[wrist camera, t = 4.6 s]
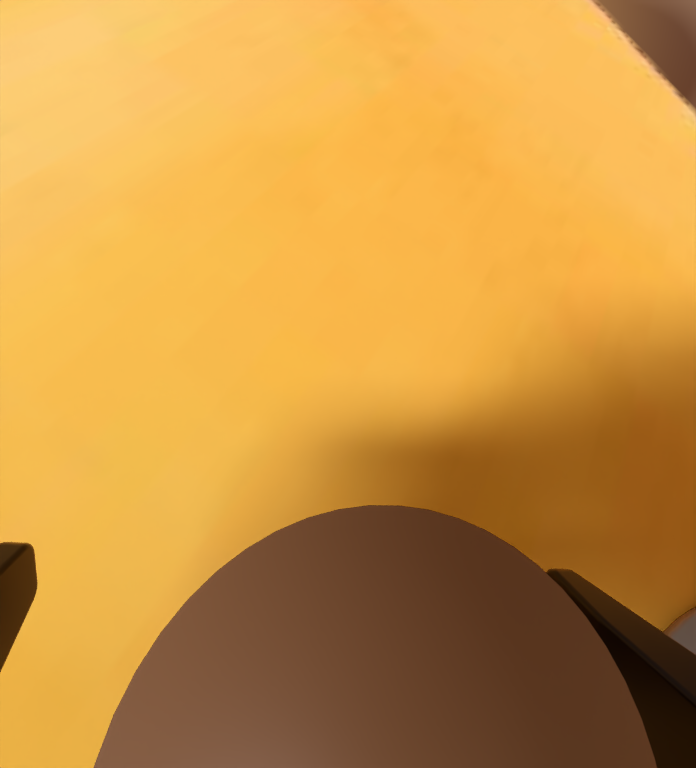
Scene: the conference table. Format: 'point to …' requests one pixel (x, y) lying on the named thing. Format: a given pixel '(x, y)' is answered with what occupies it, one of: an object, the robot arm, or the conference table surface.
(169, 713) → the brown wooden dowel
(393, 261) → the conference table surface
